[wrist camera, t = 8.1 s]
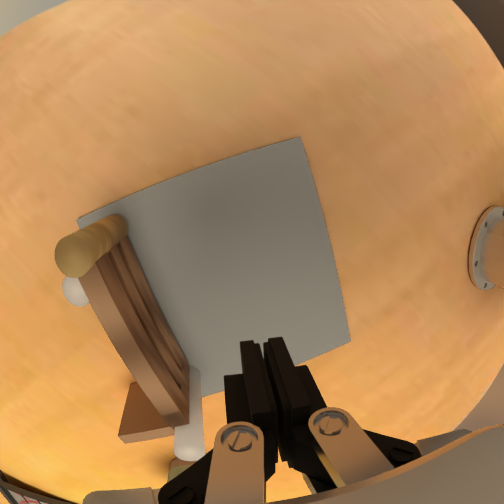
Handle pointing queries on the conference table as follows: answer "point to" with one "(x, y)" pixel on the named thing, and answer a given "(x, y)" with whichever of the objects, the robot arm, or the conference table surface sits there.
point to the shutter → (23, 495)
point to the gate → (128, 312)
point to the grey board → (229, 273)
